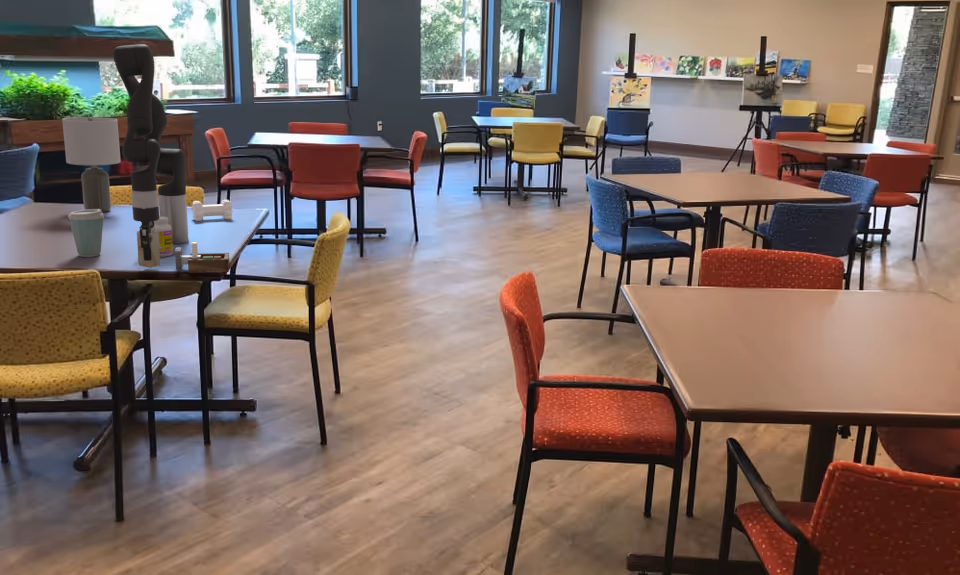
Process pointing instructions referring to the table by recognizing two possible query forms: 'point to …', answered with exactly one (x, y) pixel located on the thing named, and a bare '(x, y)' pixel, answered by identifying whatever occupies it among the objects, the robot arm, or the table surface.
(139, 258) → the box
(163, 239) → the supplement bottle
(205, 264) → the brown wooden open box
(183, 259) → the grey blocky piece
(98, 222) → the disposable coffee cup
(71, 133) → the lamp
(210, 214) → the dog bone
